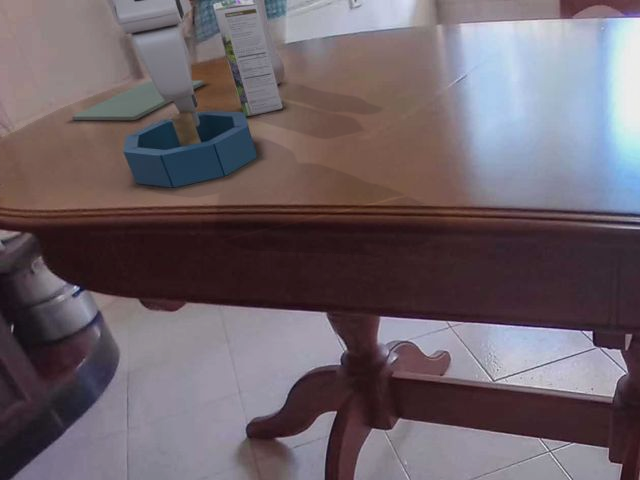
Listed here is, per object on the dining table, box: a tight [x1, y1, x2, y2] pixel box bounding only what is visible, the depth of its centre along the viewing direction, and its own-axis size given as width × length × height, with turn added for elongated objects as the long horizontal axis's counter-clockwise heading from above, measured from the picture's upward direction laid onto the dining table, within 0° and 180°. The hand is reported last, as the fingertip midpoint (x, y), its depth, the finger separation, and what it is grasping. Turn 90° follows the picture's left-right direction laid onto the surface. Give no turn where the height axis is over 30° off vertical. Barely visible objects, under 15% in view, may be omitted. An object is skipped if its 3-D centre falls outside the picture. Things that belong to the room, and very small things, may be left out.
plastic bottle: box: [222, 0, 285, 85], centre depth 109 cm, size 6×7×20 cm
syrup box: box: [212, 0, 284, 117], centre depth 101 cm, size 6×6×14 cm
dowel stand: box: [170, 112, 201, 147], centre depth 87 cm, size 8×8×6 cm
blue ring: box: [122, 110, 258, 189], centre depth 88 cm, size 15×15×4 cm
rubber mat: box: [71, 80, 205, 121], centre depth 115 cm, size 18×12×1 cm, turn 163°
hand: (192, 116), depth 92 cm, fingers open, 7 cm apart
